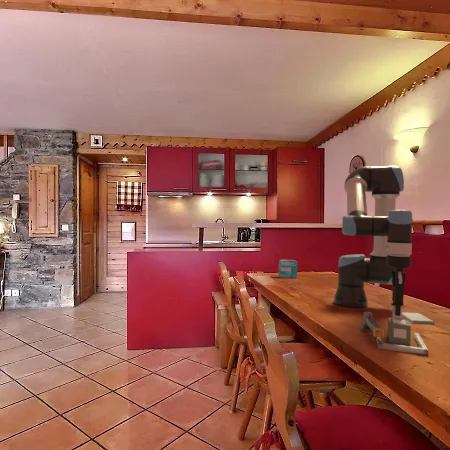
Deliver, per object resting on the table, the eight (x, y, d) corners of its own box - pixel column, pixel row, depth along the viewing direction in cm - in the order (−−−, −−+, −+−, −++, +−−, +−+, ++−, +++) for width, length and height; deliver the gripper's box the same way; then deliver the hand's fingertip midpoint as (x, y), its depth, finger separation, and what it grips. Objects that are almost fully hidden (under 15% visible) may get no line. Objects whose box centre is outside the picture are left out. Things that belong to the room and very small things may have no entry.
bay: (374, 332, 120) (375, 328, 120) (418, 337, 115) (418, 333, 115) (378, 348, 104) (378, 343, 104) (428, 355, 100) (428, 350, 100)
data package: (279, 277, 233) (279, 260, 233) (278, 276, 238) (279, 259, 238) (297, 278, 233) (297, 260, 233) (296, 277, 237) (296, 260, 237)
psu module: (387, 335, 117) (388, 317, 117) (407, 337, 115) (407, 319, 114) (389, 342, 110) (389, 323, 110) (410, 344, 108) (410, 325, 108)
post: (359, 326, 126) (360, 310, 126) (374, 328, 125) (375, 311, 125) (360, 330, 122) (360, 313, 122) (375, 332, 120) (375, 315, 120)
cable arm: (364, 322, 121) (364, 315, 121) (373, 323, 121) (373, 316, 121) (374, 336, 106) (374, 329, 106) (384, 337, 106) (384, 330, 106)
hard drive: (434, 321, 131) (419, 312, 144) (412, 320, 132) (399, 311, 144) (434, 325, 131) (419, 316, 144) (412, 324, 132) (399, 315, 144)
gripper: (384, 253, 123) (383, 318, 124) (388, 256, 111) (386, 328, 112) (408, 254, 121) (406, 320, 121) (414, 257, 109) (412, 331, 109)
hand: (396, 324), depth 116 cm, fingers closed
